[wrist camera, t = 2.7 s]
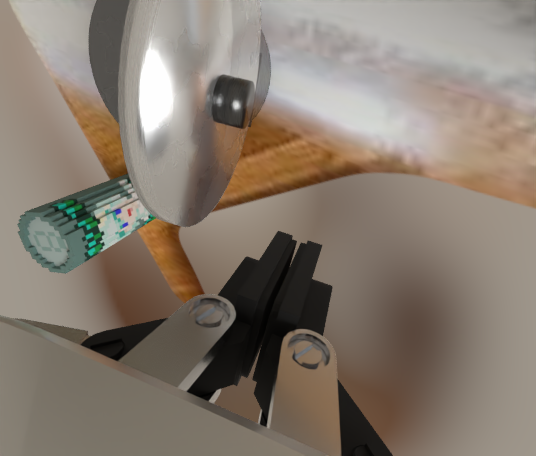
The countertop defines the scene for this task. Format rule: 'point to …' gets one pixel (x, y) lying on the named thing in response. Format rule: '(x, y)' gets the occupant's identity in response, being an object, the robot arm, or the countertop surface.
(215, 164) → the lid
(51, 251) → the can
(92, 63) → the pot
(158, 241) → the countertop surface
